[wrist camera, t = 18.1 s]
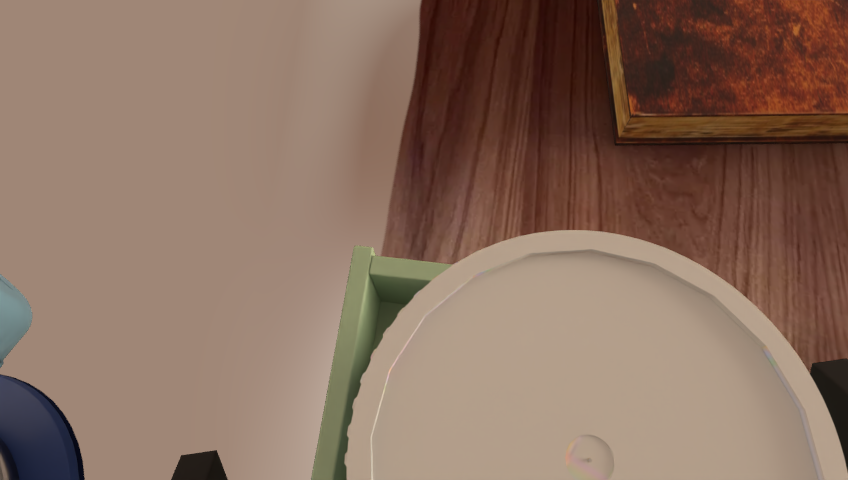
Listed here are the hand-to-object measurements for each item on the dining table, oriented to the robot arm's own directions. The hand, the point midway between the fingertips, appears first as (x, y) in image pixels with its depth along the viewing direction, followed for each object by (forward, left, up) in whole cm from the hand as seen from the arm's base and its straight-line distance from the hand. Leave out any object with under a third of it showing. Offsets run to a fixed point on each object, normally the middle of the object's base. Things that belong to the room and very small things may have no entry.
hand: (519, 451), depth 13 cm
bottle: (0, 0, -9) cm, 9 cm away
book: (+49, +7, -35) cm, 61 cm away
